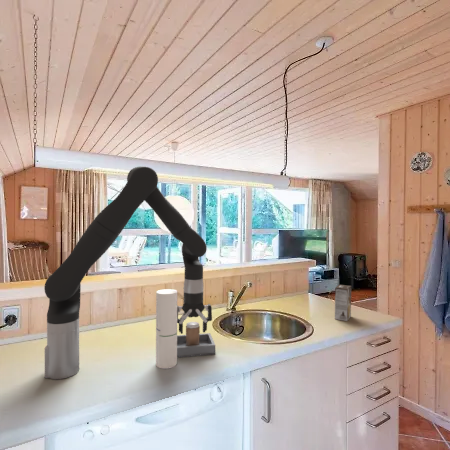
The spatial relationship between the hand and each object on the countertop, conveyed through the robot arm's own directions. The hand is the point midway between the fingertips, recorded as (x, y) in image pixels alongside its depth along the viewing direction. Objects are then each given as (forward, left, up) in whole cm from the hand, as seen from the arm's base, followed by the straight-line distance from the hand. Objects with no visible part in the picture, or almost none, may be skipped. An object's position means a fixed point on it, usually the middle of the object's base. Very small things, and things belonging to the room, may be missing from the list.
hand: (192, 332), depth 119 cm
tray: (0, 0, -7) cm, 7 cm away
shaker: (0, 0, -6) cm, 6 cm away
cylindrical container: (-10, -10, -7) cm, 16 cm away
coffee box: (+79, +24, -7) cm, 83 cm away
